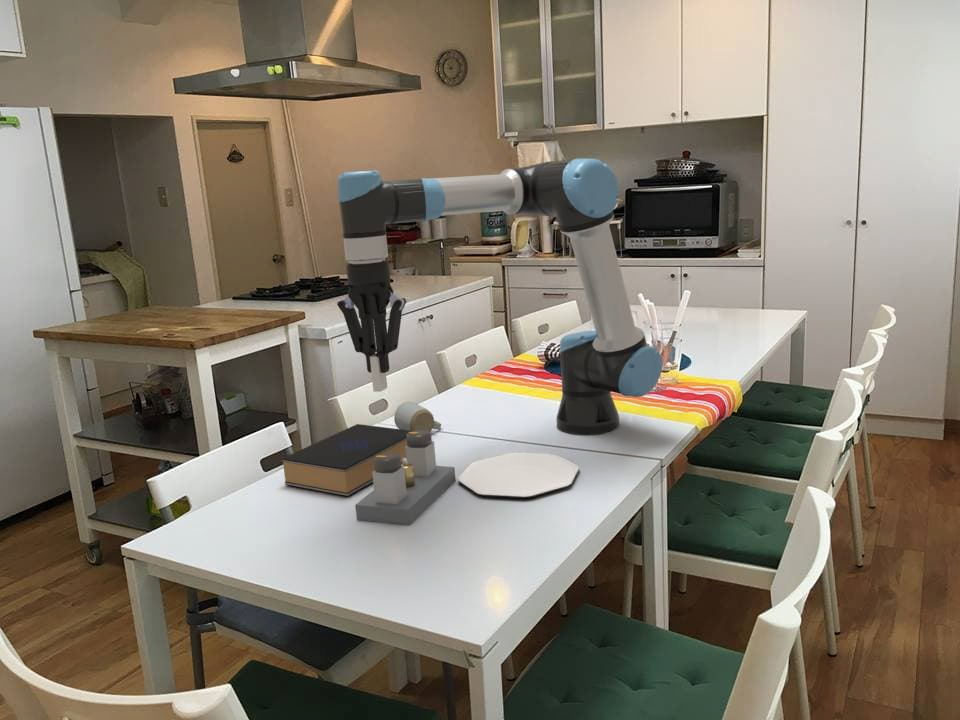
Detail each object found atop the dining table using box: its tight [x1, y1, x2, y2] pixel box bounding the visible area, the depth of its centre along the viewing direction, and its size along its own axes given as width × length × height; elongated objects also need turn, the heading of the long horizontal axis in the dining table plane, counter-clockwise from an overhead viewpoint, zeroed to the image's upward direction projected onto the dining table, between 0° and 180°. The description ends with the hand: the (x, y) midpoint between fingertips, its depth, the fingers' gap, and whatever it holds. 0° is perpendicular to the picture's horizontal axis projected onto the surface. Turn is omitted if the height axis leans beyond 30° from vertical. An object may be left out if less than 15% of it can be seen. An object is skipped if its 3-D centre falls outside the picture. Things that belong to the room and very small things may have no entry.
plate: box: [457, 452, 580, 499], centre depth 167 cm, size 24×24×2 cm
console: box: [354, 441, 456, 526], centre depth 159 cm, size 11×22×9 cm, turn 159°
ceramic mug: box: [393, 401, 442, 433], centre depth 200 cm, size 11×8×8 cm
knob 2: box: [406, 430, 432, 447], centre depth 164 cm, size 5×5×8 cm
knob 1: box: [374, 453, 401, 473], centre depth 152 cm, size 5×5×8 cm
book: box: [281, 423, 412, 497], centre depth 177 cm, size 17×25×7 cm
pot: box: [401, 458, 415, 488], centre depth 158 cm, size 3×3×6 cm
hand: (380, 389), depth 148 cm, fingers closed
